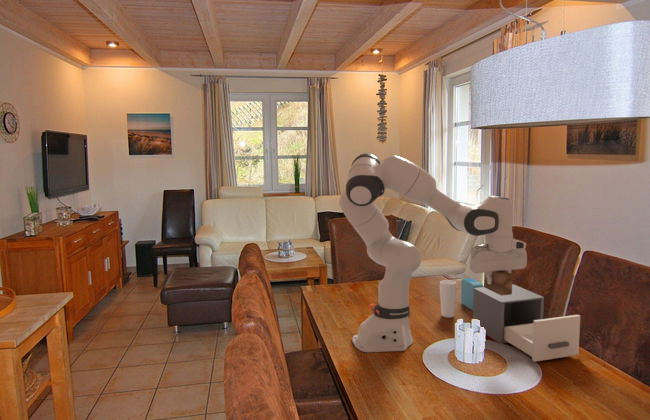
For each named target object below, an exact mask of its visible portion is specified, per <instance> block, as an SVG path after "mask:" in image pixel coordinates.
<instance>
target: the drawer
mask: <svg viewBox="0 0 650 420" xmlns="http://www.w3.org/2000/svg"><path fill="white" fill-rule="evenodd" d="M580 330H581V315H580V314H573V315H566V316H565V315H564V316H557V317H549V318H543V319H541V320H534V322H533V323H529V324H522V325H514V326H506V327H504V340H506V341H507V342H509V343H508V344H511V345H512V346H514V347H515V348H517V349H518V350H521V351H522V352H523V353H525V354H526V355H528V356H530V357H531V360H532V362H541V361H547V360H553V359H559V358H566V357H572V356H573V357H574V356H579V353H580Z"/></svg>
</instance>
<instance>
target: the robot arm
mask: <svg viewBox="0 0 650 420" xmlns="http://www.w3.org/2000/svg"><path fill="white" fill-rule="evenodd" d="M346 181H347V182H346V185H345V191H343V192H342V194H341V195H340V196H339V200H338V201H339V203H338V204H339V206H340V208H341V211H342V212H343V214H344V216H345V218H346V219H347V221H348V222H349V224H350V225H351V226H352V227H353V229H354V230H355V231H356V232H357V233H358V235H359V236H360V237H361V239H362V241H363V242H364V244H365V246H366V253H367V255H368V257H369V258H370V259H371V260H372V261H373V262H375V263H376V264H377V265H381V266H384V267H385V273H384V276H383V279H380V281H379V283H378V284H377V285H378V286H377V289H378V291H377V294H378V295H377V297H378V300H377V301H378V302H377V303H376V305H375V304H374V303H370V304H369V306H368V307H369V309H370V310H371V311H373V314H371V315H370V316H369V317H368V318H367V319H365V320H364V321H363V322H361V324H360V325H359V327H358V333H357V334H354V335H353V337H352V341H351V342H352V344H353V345H354V347H355V348H356V349H358V351H361V352H364V353H379V352H402V351H403V352H405V351H406V350H407V349H408V347H409V346H411V345H412V344H413V343H414V339H413V336H412V332H411V327H410V316H411V309H410V303H409V291H410V290H409V286H410V281H411V278H412V275H413V274H414V272H415V271H416V270H417V269H419V268H420V266H421V264H422V259H423V256H422V253H421V250H420V249H419V248H418V247H417V246H415V244H413V243H411V242H409V241H406V240H402V239H398V238H396V237H395V236H393V234H392V233H391V232H390V229H389V227H390V224H389V221H388V219H387V218H386V216H385V215H384V214H383V213H382V211H381V209H380V208H379V207H378V206H377V204H376V203H375V201H376V200H377V199H378V198H379V197H382V196H383V195H384V194H385V191H386V189H387V190H391V191H393V192H395V193H396V194H398V195H399V196H402V197H403V198H404V199H407V200H408V201H410V202H413V203H416V204H419V205H425V206H428V207H429V208H432V210H434V211H436V212H437V213H439V214H441V215H442V216H443V217H444V218H445V219H446V221H447V222H448V223H449V225H450V226H451V227H452V229H454V230H456V231H460V232H463V233H465V234H467V235H469V236H473V237H474V236H475V237H477V236H478V237H479V236H484V244H480V245H479V244H476V245H474V246H473V247H472V248H471V249H470V259H469V266H468V267H469V270H470V271H471V272H472V273H475V274H483V275H484V274H485V276H486V277H487V283H488V284H494V279H492V278H491V276H490V275H492V272H494V271H506V272H509V273H511V274H512V271H513V270H522V269H525V268H526V267H527V265H528V253H527V250H526V248H527V243H526V242H525V241H522V240H518V239H517V238H514V233H513V225H514V206H513V205H514V204H513V201H512V200H511V199H510V198H508V197H504V196H499V195H488V197H487V198H485V199H484V200H483V201H481V202H479V203H476V204H474V205H472V204H470V203H466V202H459V201H456V200H453V198H451V197H450V196H447V195H446V194H445V193H443V192H441V191H440V190H439V189H438V188H437V181H436V179H435V178H434V176H432V174H430V173H429V172H428V171H427V170H425V169H424V168H422V167H421V166H419V165H417V164H416V163H414V162H412V161H410V160H408V159H406V158H404V157H401V156H398V155H395V154H394V155H393V154H392V155H388V156H386V157H385V158H384V160H380V159H379V158H378V157H377V156H376V155H375V154H372V153H370V152H369V153H368V152H367V153H366V152H364V153H361V154H359V155H358V156H357V157H355V159H354V160H353V161H352V164H351V166H350V168H349V172H348V175H347V180H346Z"/></svg>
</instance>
